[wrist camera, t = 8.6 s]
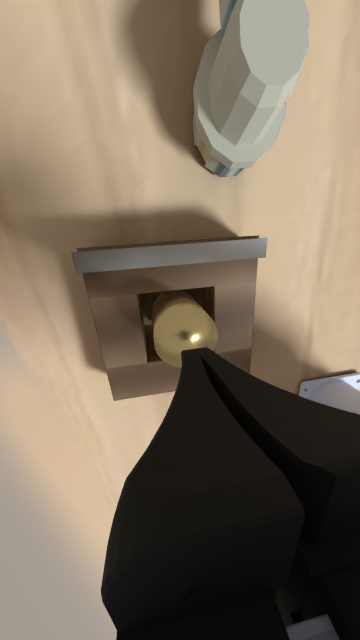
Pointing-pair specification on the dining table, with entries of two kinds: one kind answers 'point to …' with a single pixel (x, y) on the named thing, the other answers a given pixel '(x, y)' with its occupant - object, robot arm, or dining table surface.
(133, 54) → the dining table surface
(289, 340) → the dining table surface
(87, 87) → the dining table surface
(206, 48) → the grey long knobbed part
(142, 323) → the jig
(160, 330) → the tan cylinder
